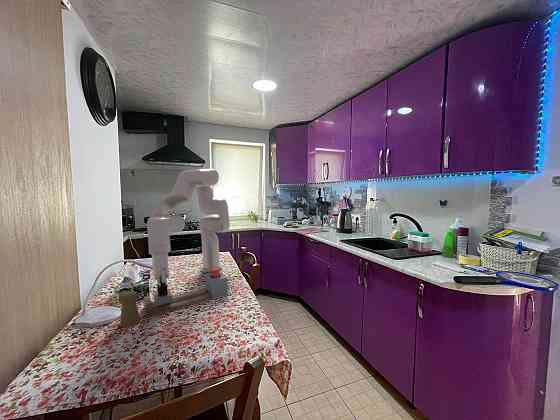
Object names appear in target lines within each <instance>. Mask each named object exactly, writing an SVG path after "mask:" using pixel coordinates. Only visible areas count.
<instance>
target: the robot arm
mask: <svg viewBox="0 0 560 420" xmlns="http://www.w3.org/2000/svg"><path fill="white" fill-rule="evenodd" d="M219 179H220V176H219V173H218V171H217V170H216V169H215V168H203V169H202V168H201V169H200V168H199V169H184V170H183V171H181V172H179V174H178V177H177V179H176V181H175V184H174V187H173V188H172V190H171V193H170V194H168V195H167V196H165V197H164V198H163V199H161V200H160V201H159V202H157V204H156V205H154V208H153V209H152V210H151V211H152V212H151V214H150V215H149V218H148V219H147V222H146V228H147V239H148V240H147V243H148V254H149V255H151V267H152V277H153V279H154V280H155V281H157V283H156V285H157V286H156V288H157V291H156V292H158V294H159V296H164V295H167V294H168V290H169V289H168V283H167V282H168V281H167V279H169V276H170V273H169V272H170V270H169V269H170V268H169V267H170V266H169V254H168V253H170V252H171V237H170V234H175V233H176V234H177V233H180V232H182V231H183V230H184V229H185V227H186V220H185V219H184V217H183V216H181V215H179V214H169V212H171V211H173V210H175V209H177V208H180V207H182V206H185V205H186V204H188V203H189V202H190V200H191V199H192V196H193V192H194V190H195V191H196V193H197V200H198V201H197V202H198V207H199V211H200V214H202V215H205V216H202V217H200V219H199V221H198V227H199V231H200V237H201V251H202V252H201V253H202V266H201V267H200V269H199V270H200V272H203V273H205V272H206V273H211V272H210V270H209V269H210V268H213V267H220V268H221V270H222V268H223V265H222V264H221V263H220V247H219V246H220V245H219V237H218V235H217V234H216V233H226V232H227V233H228V231H229V230H230V226H231V223H230V213H229V212H230V211H229V207H228V206H229V205H228V202H227V200H226V198H224V197H223V198H222V197H214V191H213V188H212V187H213V186H215V185H217V184H218V183H219ZM206 215H207V216H206ZM208 215H209V216H208ZM216 215H218V216H216ZM160 281H161V282H160ZM158 282H159V286H158Z"/></svg>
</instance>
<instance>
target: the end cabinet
mask: <svg viewBox="0 0 560 420" xmlns="http://www.w3.org/2000/svg"><path fill="white" fill-rule="evenodd" d="M204 287H205V288H204V289H205V290H206V291H207V292H208V293H209V295H210V296H211V300H214V299H215V300H216V299H218V298H222V297H224V296H228V295H229V294H228V293H229V291H228V289H229V287H228V277H227V276H226V275H225V274H223V272H221V271H220V277H217V278H211V272H208V273H206V274H205V273H204Z"/></svg>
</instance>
